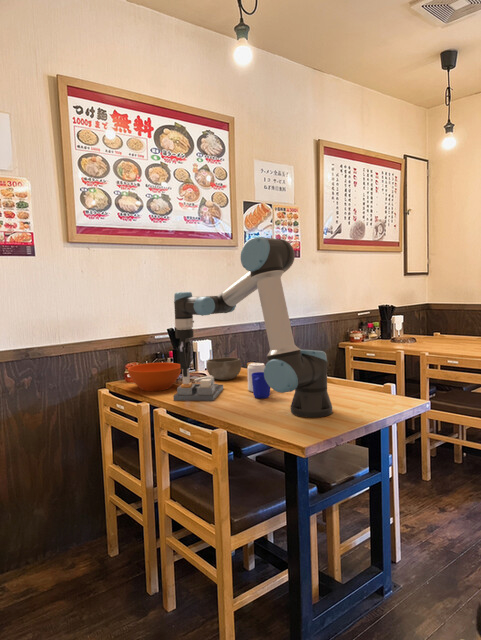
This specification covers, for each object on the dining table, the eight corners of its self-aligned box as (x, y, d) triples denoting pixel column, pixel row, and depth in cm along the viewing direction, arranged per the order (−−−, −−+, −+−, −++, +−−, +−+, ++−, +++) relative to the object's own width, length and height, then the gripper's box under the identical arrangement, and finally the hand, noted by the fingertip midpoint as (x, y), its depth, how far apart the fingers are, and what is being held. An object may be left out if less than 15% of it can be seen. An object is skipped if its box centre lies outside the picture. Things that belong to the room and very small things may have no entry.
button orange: (189, 393, 193) (189, 385, 193) (181, 393, 194) (180, 385, 194) (192, 391, 197) (191, 383, 197) (183, 391, 198) (183, 383, 198)
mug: (246, 401, 187) (245, 377, 187) (255, 394, 199) (255, 371, 198) (265, 402, 184) (265, 378, 184) (273, 395, 196) (273, 372, 195)
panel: (213, 400, 189) (213, 388, 189) (173, 400, 192) (173, 388, 192) (223, 388, 211) (223, 378, 211) (187, 388, 214) (187, 378, 213)
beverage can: (244, 391, 206) (243, 364, 205) (256, 387, 211) (255, 362, 211) (258, 393, 200) (257, 366, 199) (269, 390, 206) (269, 363, 205)
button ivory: (209, 389, 192) (209, 380, 192) (200, 389, 193) (200, 380, 192) (211, 387, 196) (211, 379, 196) (202, 387, 196) (202, 379, 196)
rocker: (211, 378, 207) (210, 376, 207) (194, 382, 208) (194, 379, 208) (212, 377, 210) (212, 375, 210) (196, 380, 211) (195, 378, 211)
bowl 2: (210, 375, 245) (210, 356, 244) (243, 375, 243) (243, 356, 242) (203, 381, 228) (203, 362, 227) (239, 382, 226) (238, 361, 225)
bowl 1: (150, 380, 235) (149, 361, 234) (192, 384, 224) (191, 363, 223) (117, 391, 212) (116, 370, 212) (162, 395, 201) (161, 373, 201)
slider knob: (212, 389, 200) (212, 378, 200) (206, 389, 201) (205, 378, 200) (214, 387, 204) (214, 376, 203) (207, 387, 204) (207, 376, 204)
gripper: (188, 330, 187) (190, 387, 188) (196, 327, 199) (198, 380, 201) (171, 330, 188) (173, 387, 190) (180, 327, 201) (181, 380, 202)
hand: (186, 383), depth 195 cm, fingers closed
